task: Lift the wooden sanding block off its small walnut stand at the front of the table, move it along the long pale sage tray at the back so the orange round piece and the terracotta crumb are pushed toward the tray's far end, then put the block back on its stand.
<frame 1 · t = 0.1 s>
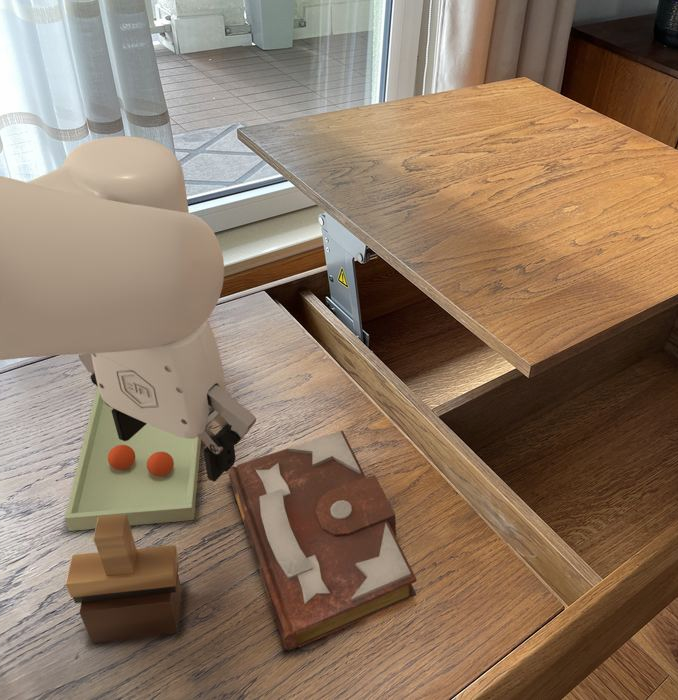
hand: (177, 450, 66), 20 cm above the table, tool pointing down, fingers open, 9 cm apart
orange round piece: (160, 464, 86), point 2 cm above the table, touching tray
wooden sanding block: (128, 584, 70), point 6 cm above the table, touching stand
tray: (147, 437, 91), on the table
stand: (138, 615, 74), on the table
crumb b: (121, 457, 86), point 2 cm above the table, touching tray
book: (322, 540, 83), on the table
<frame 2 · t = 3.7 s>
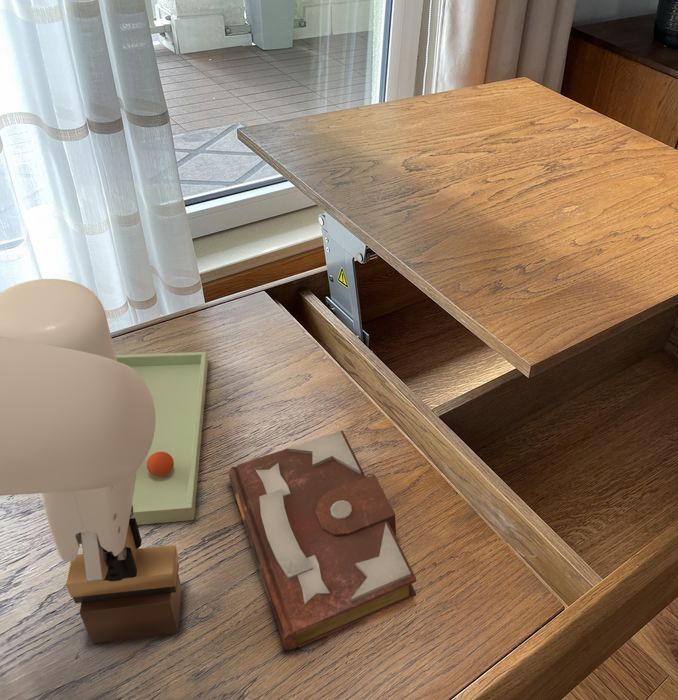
hand: (121, 560, 67), 10 cm above the table, tool pointing down, fingers closed on wooden sanding block, 2 cm apart
wooden sanding block: (128, 584, 70), point 6 cm above the table, touching gripper, stand
everything else where it was.
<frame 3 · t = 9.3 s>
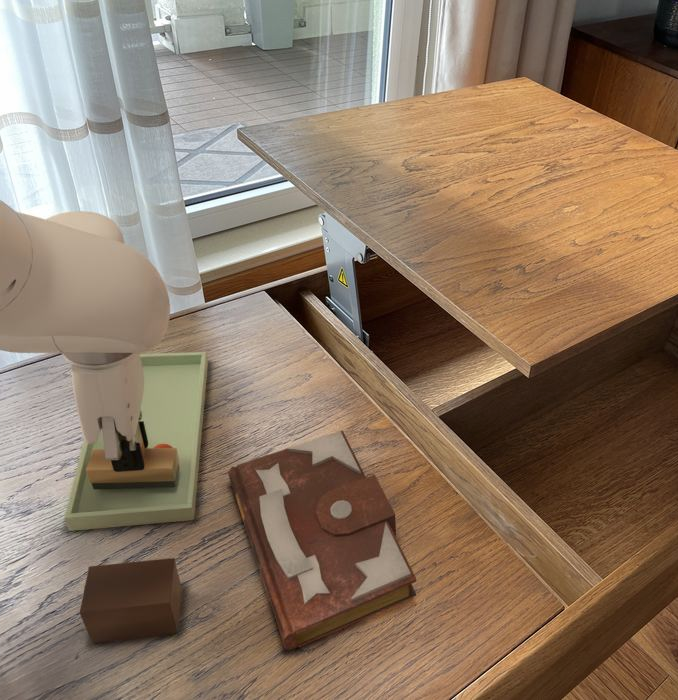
hand: (131, 457, 82), 5 cm above the table, tool pointing down, fingers closed on wooden sanding block, 2 cm apart
orange round piece: (162, 456, 87), point 2 cm above the table, tilted 21°, touching wooden sanding block, tray
wooden sanding block: (137, 478, 85), point 2 cm above the table, touching orange round piece, crumb b, gripper
crumb b: (121, 456, 86), point 2 cm above the table, tilted 5°, touching wooden sanding block, tray
everything else where it was.
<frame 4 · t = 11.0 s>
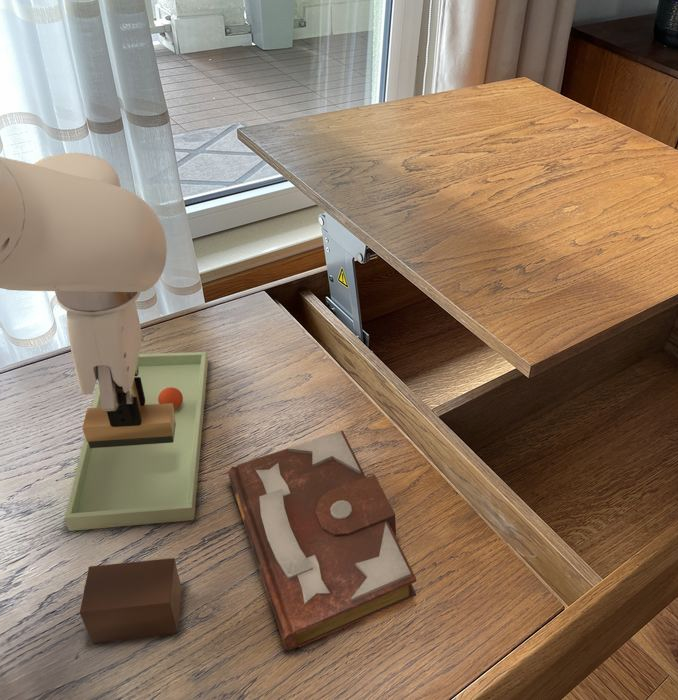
hand: (128, 413, 82), 10 cm above the table, tool pointing down, fingers closed on wooden sanding block, 2 cm apart
orange round piece: (170, 398, 94), point 2 cm above the table, tilted 31°, touching tray
wooden sanding block: (134, 436, 84), point 6 cm above the table, touching gripper
crumb b: (132, 400, 93), point 2 cm above the table, tilted 11°, touching tray
everything else where it was.
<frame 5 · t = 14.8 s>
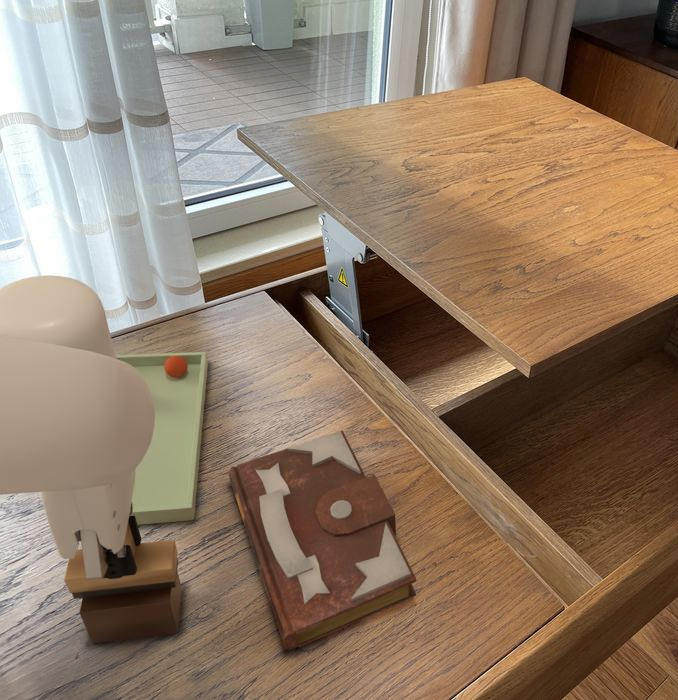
hand: (120, 558, 67), 10 cm above the table, tool pointing down, fingers closed on wooden sanding block, 2 cm apart
orange round piece: (176, 366, 99), point 2 cm above the table, tilted 85°, touching tray
wooden sanding block: (127, 579, 69), point 7 cm above the table, touching gripper
crumb b: (133, 394, 94), point 2 cm above the table, tilted 58°, touching tray
everything else where it was.
when the fingers open (10 cm above the table, at t = 15.2 s): wooden sanding block stays where it is, resting on stand.
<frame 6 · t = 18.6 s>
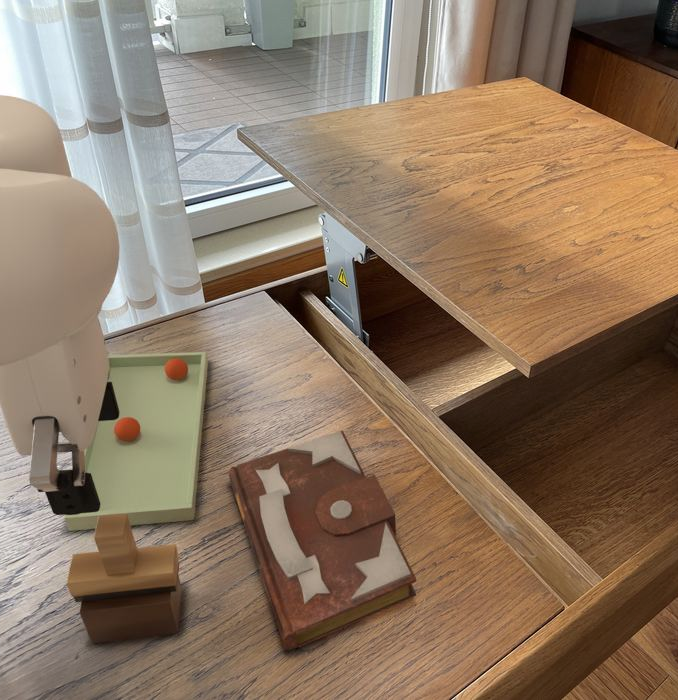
hand: (89, 461, 58), 24 cm above the table, tool pointing down, fingers open, 9 cm apart
orange round piece: (176, 369, 98), point 2 cm above the table, tilted 106°, touching tray
wooden sanding block: (129, 583, 70), point 6 cm above the table, touching stand
crumb b: (127, 429, 89), point 2 cm above the table, tilted 178°, touching tray
everything else where it was.
at the end: orange round piece inside the target area in the tray (6.0 cm from its centre), point 2.1 cm above the tray's base; crumb b inside the target area in the tray (6.1 cm from its centre), point 2.1 cm above the tray's base; the gripper is holding nothing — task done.
